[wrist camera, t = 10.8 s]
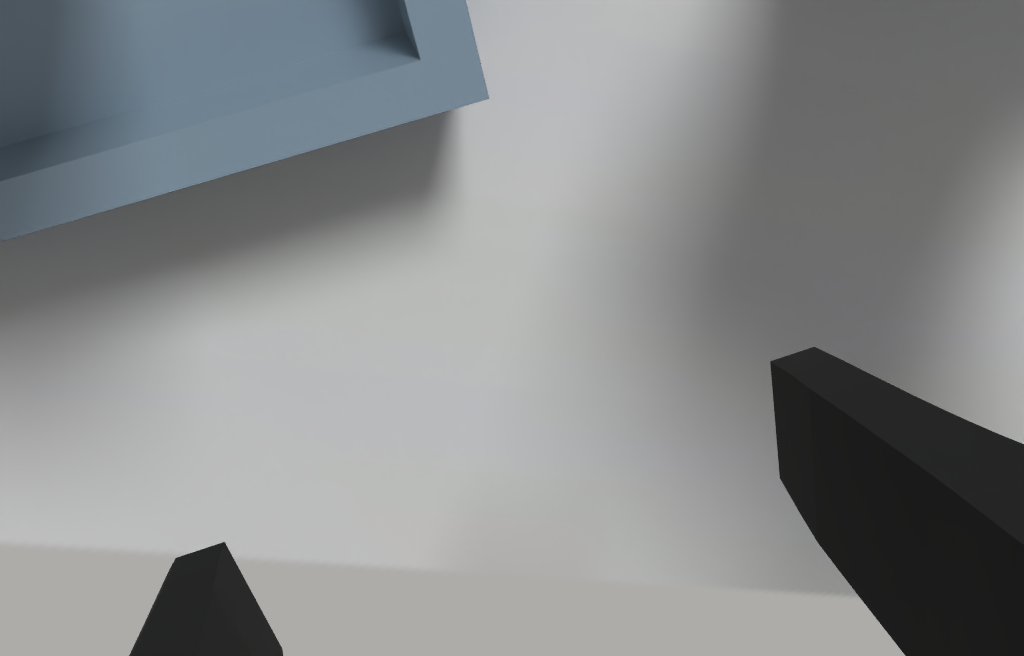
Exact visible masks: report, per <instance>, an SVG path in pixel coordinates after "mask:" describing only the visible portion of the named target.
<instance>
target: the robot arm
mask: <svg viewBox="0 0 1024 656" xmlns="http://www.w3.org/2000/svg"><path fill="white" fill-rule="evenodd" d="M770 363H771V375H772V387H773V399H774V411H775V423H776V435H777V447H778V459H779V472H780V479H781V481H782V482H783V484H784V486H785V488H786V489H787V491H788V493H789V495H790V496H791V498H792V500H793V502H794V503H795V505H796V507H797V509H798V510H799V512H800V514H801V516H802V517H803V519H804V520H805V522H806V524H807V525H808V527H809V529H810V530H811V532H812V534H813V535H814V537H815V539H816V540H817V542H818V543H819V545H820V546H821V547H822V549H823V550H824V551H825V553H826V554H827V555H828V557H829V558H830V559H831V560H832V562H833V563H834V564H835V566H836V567H837V568H838V570H839V571H840V572H841V573H842V575H843V576H844V577H845V579H846V580H847V581H848V583H849V584H850V585H851V586H852V588H853V589H854V590H855V592H856V593H857V594H858V596H859V597H860V598H861V599H862V600H863V602H864V603H865V604H866V606H867V607H868V608H869V610H870V611H871V612H872V613H873V615H874V616H875V617H876V619H877V620H878V621H879V622H880V624H881V625H882V626H883V627H884V629H885V630H886V631H887V632H888V634H889V635H890V636H891V637H892V639H893V640H894V642H895V643H896V644H897V645H898V647H899V648H900V649H901V650H902V652H903V653H904V654H905V655H906V656H1024V444H1022V443H1019V442H1017V441H1014V440H1012V439H1009V438H1007V437H1004V436H1002V435H999V434H997V433H995V432H992V431H990V430H988V429H985V428H983V427H981V426H979V425H976V424H974V423H972V422H969V421H967V420H965V419H963V418H960V417H958V416H956V415H954V414H952V413H949V412H947V411H945V410H943V409H941V408H939V407H937V406H934V405H932V404H930V403H928V402H926V401H924V400H922V399H920V398H918V397H916V396H913V395H911V394H909V393H907V392H905V391H903V390H901V389H899V388H897V387H895V386H893V385H891V384H889V383H887V382H885V381H883V380H881V379H879V378H877V377H875V376H873V375H871V374H869V373H867V372H865V371H863V370H861V369H859V368H857V367H855V366H853V365H851V364H849V363H847V362H845V361H843V360H841V359H839V358H837V357H835V356H832V355H830V354H828V353H826V352H824V351H822V350H820V349H818V348H815V347H813V348H810V349H807V350H804V351H801V352H797V353H794V354H791V355H788V356H785V357H782V358H779V359H776V360H773V361H770ZM129 656H283V651H282V647H281V646H280V644H279V642H278V640H277V638H276V637H275V634H274V633H273V631H272V629H271V627H270V625H269V624H268V622H267V620H266V618H265V616H264V614H263V612H262V611H261V609H260V607H259V605H258V603H257V602H256V599H255V598H254V596H253V594H252V592H251V590H250V588H249V586H248V585H247V583H246V581H245V579H244V577H243V575H242V574H241V572H240V570H239V568H238V566H237V564H236V562H235V561H234V559H233V557H232V555H231V553H230V551H229V549H228V548H227V546H226V544H225V542H223V543H220V544H217V545H214V546H211V547H208V548H205V549H202V550H199V551H196V552H193V553H190V554H187V555H184V556H181V557H178V558H176V559H175V561H174V563H173V564H172V566H171V568H170V570H169V572H168V574H167V576H166V578H165V580H164V582H163V585H162V587H161V589H160V591H159V593H158V596H157V598H156V600H155V602H154V604H153V606H152V609H151V611H150V613H149V615H148V617H147V619H146V621H145V624H144V626H143V628H142V630H141V632H140V634H139V636H138V638H137V641H136V643H135V645H134V647H133V649H132V651H131V653H130V655H129Z"/></svg>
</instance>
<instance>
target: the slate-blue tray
mask: <svg viewBox="0 0 1024 656" xmlns="http://www.w3.org/2000/svg"><path fill="white" fill-rule="evenodd" d="M486 99H489V96H488V92H487V88H486V84H485V79H484V75H483V71H482V67H481V63H480V58H479V54H478V50H477V46H476V42H475V37H474V33H473V29H472V25H471V21H470V16H469V12H468V8H467V4H466V0H0V242H2V241H5V240H9V239H12V238H15V237H19V236H22V235H26V234H29V233H32V232H36V231H39V230H43V229H46V228H50V227H53V226H56V225H60V224H63V223H67V222H70V221H73V220H77V219H80V218H84V217H87V216H90V215H94V214H97V213H101V212H104V211H108V210H111V209H114V208H118V207H121V206H125V205H128V204H131V203H135V202H138V201H142V200H145V199H148V198H152V197H155V196H159V195H162V194H166V193H169V192H172V191H176V190H179V189H183V188H186V187H189V186H193V185H196V184H200V183H203V182H206V181H210V180H213V179H217V178H220V177H224V176H227V175H230V174H234V173H237V172H241V171H244V170H247V169H251V168H254V167H258V166H261V165H264V164H268V163H271V162H275V161H278V160H282V159H285V158H288V157H292V156H295V155H299V154H302V153H305V152H309V151H312V150H316V149H319V148H323V147H326V146H329V145H333V144H336V143H340V142H343V141H346V140H350V139H353V138H357V137H360V136H363V135H367V134H370V133H374V132H377V131H381V130H384V129H387V128H391V127H394V126H398V125H401V124H404V123H408V122H411V121H415V120H418V119H421V118H425V117H428V116H432V115H435V114H439V113H442V112H445V111H449V110H452V109H456V108H459V107H462V106H466V105H469V104H473V103H476V102H479V101H483V100H486Z"/></svg>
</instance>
